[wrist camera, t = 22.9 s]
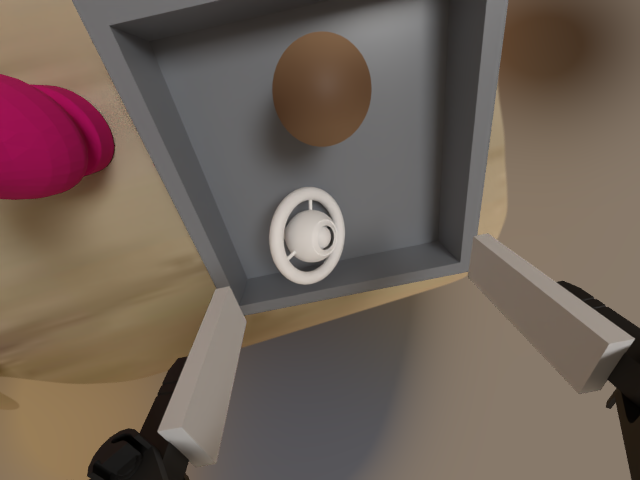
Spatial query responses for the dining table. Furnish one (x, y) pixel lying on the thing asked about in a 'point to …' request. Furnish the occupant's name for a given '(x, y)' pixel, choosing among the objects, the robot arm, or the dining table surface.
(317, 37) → the walnut cylinder
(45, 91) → the pepper mill
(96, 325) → the dining table surface
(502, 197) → the dining table surface
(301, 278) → the ring around a ball
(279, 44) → the tray
